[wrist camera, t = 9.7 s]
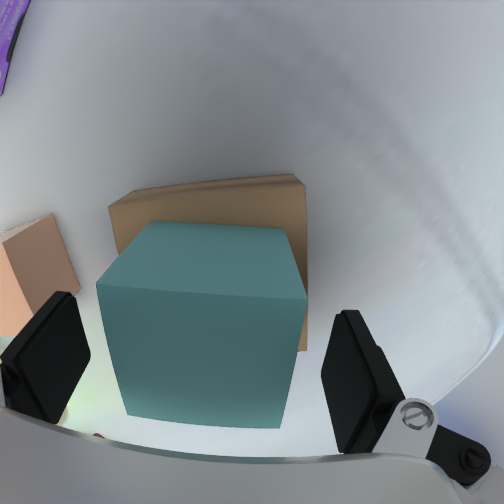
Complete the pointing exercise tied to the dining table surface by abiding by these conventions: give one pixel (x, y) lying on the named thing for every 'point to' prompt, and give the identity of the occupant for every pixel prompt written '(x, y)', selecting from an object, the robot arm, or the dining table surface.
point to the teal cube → (204, 323)
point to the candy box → (9, 31)
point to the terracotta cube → (31, 271)
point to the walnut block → (222, 212)
